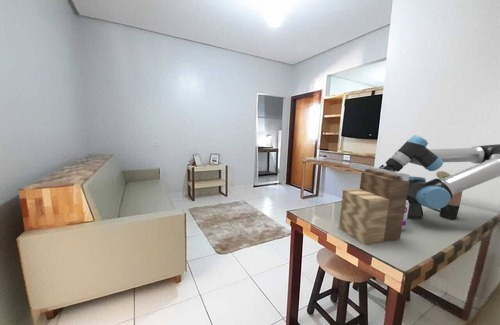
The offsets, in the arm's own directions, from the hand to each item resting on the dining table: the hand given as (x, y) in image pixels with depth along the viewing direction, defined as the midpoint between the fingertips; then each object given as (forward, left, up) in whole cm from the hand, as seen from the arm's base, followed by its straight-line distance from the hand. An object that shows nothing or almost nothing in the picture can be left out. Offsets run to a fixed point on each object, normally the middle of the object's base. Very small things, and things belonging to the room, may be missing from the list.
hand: (366, 191), depth 113 cm
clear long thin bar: (+2, +12, +13) cm, 18 cm away
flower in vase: (-56, -25, -16) cm, 63 cm away
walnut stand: (+5, +19, -15) cm, 25 cm away
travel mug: (-51, -11, -16) cm, 54 cm away
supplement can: (-12, +10, -16) cm, 22 cm away
